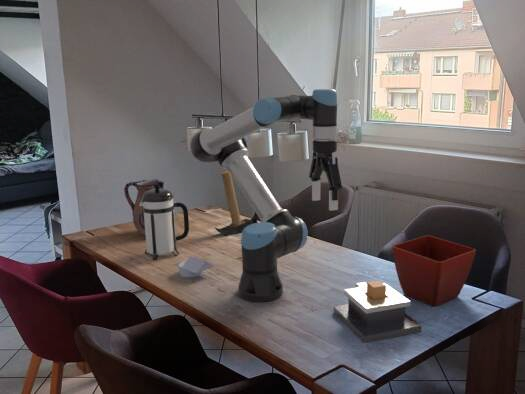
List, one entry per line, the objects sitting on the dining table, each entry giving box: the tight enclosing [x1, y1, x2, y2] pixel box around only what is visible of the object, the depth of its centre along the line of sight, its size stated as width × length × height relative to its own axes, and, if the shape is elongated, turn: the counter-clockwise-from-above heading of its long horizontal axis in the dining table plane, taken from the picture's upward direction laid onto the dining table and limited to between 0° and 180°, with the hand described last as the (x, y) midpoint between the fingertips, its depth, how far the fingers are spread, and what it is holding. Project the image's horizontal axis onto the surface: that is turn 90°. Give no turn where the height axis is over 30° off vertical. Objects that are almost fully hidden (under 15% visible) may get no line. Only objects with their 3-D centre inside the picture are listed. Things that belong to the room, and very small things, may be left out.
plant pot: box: [391, 235, 477, 307], centre depth 171 cm, size 19×19×17 cm
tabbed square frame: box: [333, 281, 422, 343], centre depth 156 cm, size 18×20×8 cm
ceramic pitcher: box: [123, 178, 165, 236], centre depth 245 cm, size 18×21×25 cm
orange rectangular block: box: [366, 280, 386, 300], centre depth 155 cm, size 4×4×10 cm
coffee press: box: [139, 184, 190, 261], centre depth 216 cm, size 17×16×30 cm
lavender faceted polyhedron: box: [178, 255, 215, 278], centre depth 196 cm, size 9×7×13 cm
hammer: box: [214, 170, 259, 237], centre depth 242 cm, size 20×5×30 cm, turn 120°
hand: (324, 205), depth 170 cm, fingers open, 13 cm apart
